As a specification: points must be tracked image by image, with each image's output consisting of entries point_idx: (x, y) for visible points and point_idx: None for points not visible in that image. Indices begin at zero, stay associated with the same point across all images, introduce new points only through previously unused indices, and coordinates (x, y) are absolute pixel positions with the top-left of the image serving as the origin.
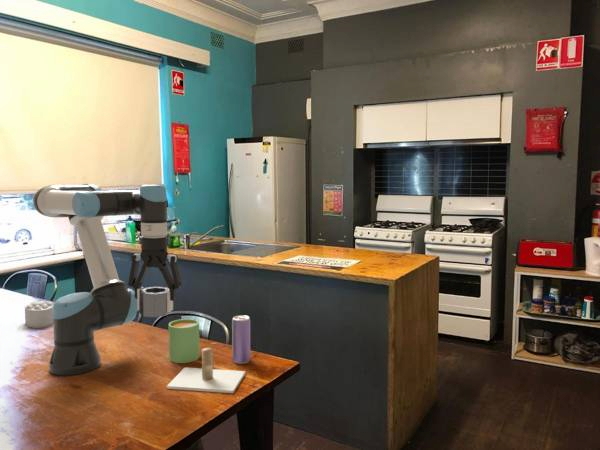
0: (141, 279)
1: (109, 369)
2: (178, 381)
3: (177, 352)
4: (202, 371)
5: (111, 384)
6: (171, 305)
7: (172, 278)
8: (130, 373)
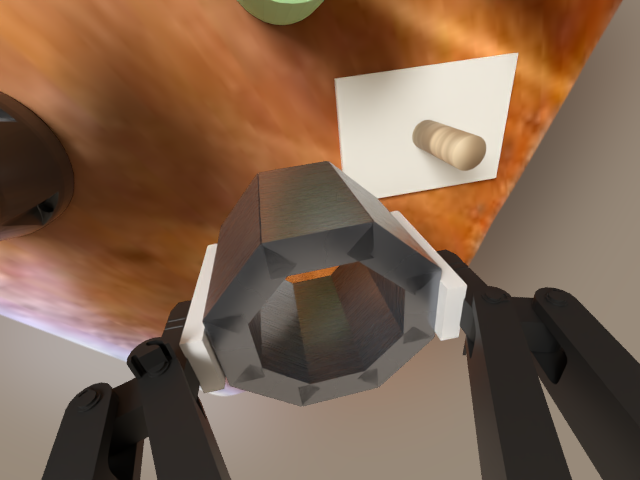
0: (225, 466)
1: (113, 147)
2: (361, 174)
3: (285, 20)
4: (424, 150)
5: (206, 223)
6: None
7: (532, 361)
8: (198, 153)
